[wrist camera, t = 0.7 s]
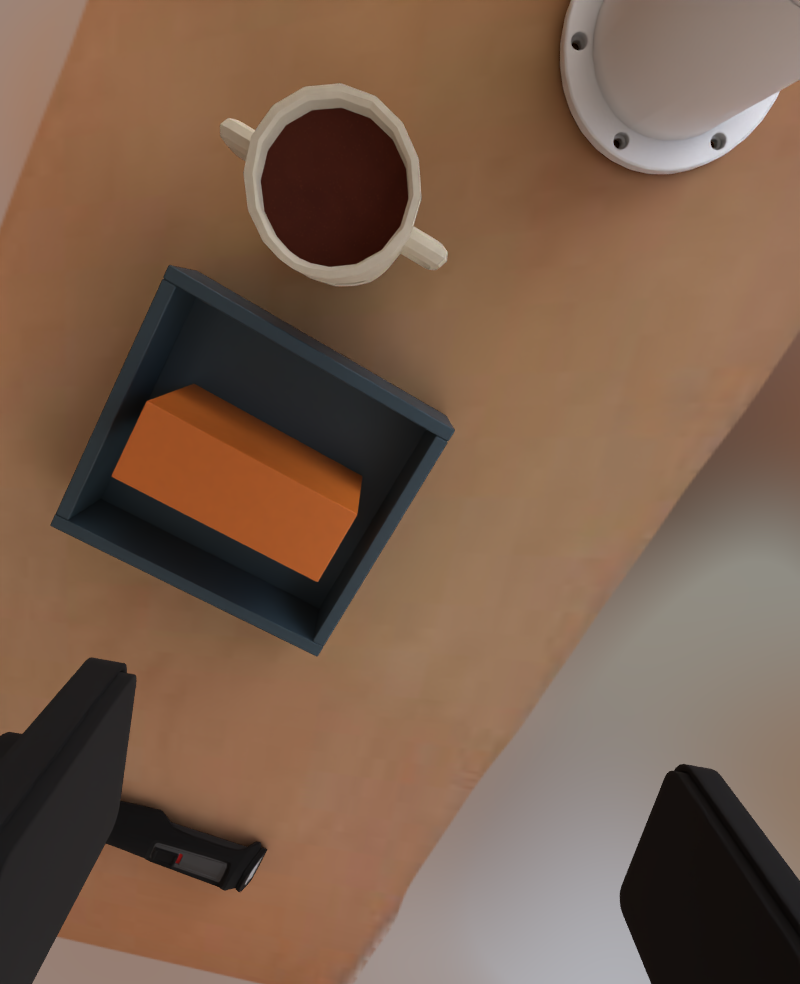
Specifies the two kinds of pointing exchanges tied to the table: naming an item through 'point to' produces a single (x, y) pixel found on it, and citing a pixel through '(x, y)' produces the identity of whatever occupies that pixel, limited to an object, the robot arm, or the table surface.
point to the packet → (241, 478)
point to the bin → (281, 404)
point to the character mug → (334, 185)
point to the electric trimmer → (184, 848)
